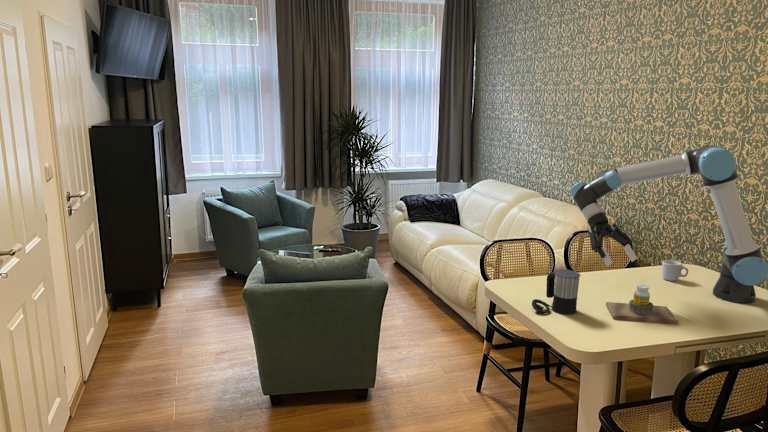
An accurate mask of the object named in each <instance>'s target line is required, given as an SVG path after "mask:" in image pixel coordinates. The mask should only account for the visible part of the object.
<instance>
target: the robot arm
mask: <svg viewBox="0 0 768 432" xmlns="http://www.w3.org/2000/svg"><path fill="white" fill-rule="evenodd" d="M736 167H737V161H736V157H735V156H734V154H733V153H732V152H731V151H730V150H728V149H727V148H724V147H721V146H718V145H714V144H711V145H705V146H702V147H699V148H695V149H691V150H686V151H684V152H683V153H682V154H680V155H675V156H670V157H666V158H660V159H655V160H650V161H646V162H641V163H636V164H632V165H628V166H622V167H617V168H613V169H603V170H600V171H599V172H598V173H597V174H596V177H595V179H593V180H592V181H591V182H589V183H587V182H586V181H579V182H577V183H575V184H574V185H572V186H571V188H570V189H569V193H570V194H571V197H572V198H573V200H574V202H575V204H576V206H577V207H578V209H579V211H580V212H581V213H582V215H583V217H584V219H585V220H586V221H587V222H586V223H587V224H588V226H589V227H590V228H588V229H587V233H588V236H589V242H590V249H591V250H592V251H593V252H594V253H598V255H599V256H600V258H601V259H602V260H603V262H604V263H605V265H606V267H609V266H611V265H612V264H613V263H614V262H613V261H612V259H611V257H610V255H609V253H608V252H607V250H606V248H605V247H603V243H604V238H609V239H613V240H614V241H615V242H617V243H619V244H620V245H621V246H622V248H623V250H624V252H625V253H626V254H627V255H626V256H627V257H628V258H629V260H630V262H632V263H633V262H634V261H636V260H637V259H638V256H637V255H636V253H635V252H634V249H633V248H632V246H631V243H633V240H632V239H631V238H630V237H629V236H628V235H626V234H625V233H624V232H623V231H622V230H621V229H620V228H619V227H618V226H617V224H616V223H613V224H612V225H611V224H610V223H609V218H608V216H607V215H606V213H605V212H604V209H603V208H602V206H601V204H600V203H599V200H600V199H601V198H603V197H605V196H606V195H608V194H609V193H612V192H614V191H617V190H618V189H619V188H620V187H621V186H625V185H631V184H637V183H641V182H646V181H648V182H649V181H652V180H657V179H662V178H663V179H664V178H668V177H673V176H678V175H684V174H686V175H689V176H691V175H699V174H700V176H701V180H702V184H703V187H704V188H707V189H709V190H710V195H711V197H712V200H713V203H714V208H715V210H716V211H715V212H716V213H717V214H716V215H717V217H718V220H719V223H720V226H721V230H722V233H723V236H724V238H725V243H724V246H723V248H722V249H723V253H722V257H721V258H722V259H721V265H720V274H719V277H718V279H717V280H716V282H715V285H714V286H713V288H712V295H713V296H715V297H716V298H718V299H721V300H723V301H728V302H731V303H732V302H733V303H737V304H738V303H739V304H750V303H754V302H755V301H756V298H757V297H756V296H757V295H756V289H755V286H756V285H759V284H761V283H763V282H764V281H765V280H766V279H767V278H768V263H767V262H766V261H765V259H764V256H763V254H762V251H761V247H760V245H759V244H758V243H756V242H754V240H753V237H752V233H751V230H750V226H749V224H748V221H747V218H746V214H745V211H744V208H743V204H742V201H741V198H740V194H739V191H738V189H737V185H736V182H737V181H738V179H739V176H738V172H737V169H736Z"/></svg>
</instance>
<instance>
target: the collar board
mask: <svg viewBox="0 0 768 432" xmlns="http://www.w3.org/2000/svg"><path fill="white" fill-rule="evenodd" d="M633 300H634V299H630V300H629V301H628V302H629V303H627V302H626V303H625V302H613V301H612V302H611V301H606V302H605V306H606V309H607V310H608V312H609V314H610V316H611V318H612V319H613V320H618V321H619V320H621V321H622V320H623V321H633V322H643V323H644V322H647V323H657V324H669V325H670V324H671V325H678V321H679V320H678V319H677V317H676V316H675V315H674V313H672V311H671V310H670V309H669V307H668V306H667V305H654V303H652V302H651V301H649V306H639V305H636V304H633Z"/></svg>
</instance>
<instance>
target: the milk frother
mask: <svg viewBox="0 0 768 432" xmlns="http://www.w3.org/2000/svg"><path fill="white" fill-rule="evenodd" d="M580 277H581V273H580V272H577V271H575V270H571V269H556V270H555V271H551V272H550V273H548V274H547V275H546V292H545V293H546V295H545V296H546V297H547V298H548V299H552V298H553V299H552V303H551V305H550V304H548V303H547V302H545V301H543V300H541V299H536V298H535V299H532V301H531V306H532V309H533V310H535V311H536V312H537V313H540V314H548V313H550V312H551V311H550V310H552V311H553V312H555V313H558V314H561V315H574V314H577V304H578V302H577V301H578V293H579V284H580ZM550 307H551V308H550ZM544 308H545V309H544Z"/></svg>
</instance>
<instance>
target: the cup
mask: <svg viewBox="0 0 768 432" xmlns="http://www.w3.org/2000/svg"><path fill="white" fill-rule="evenodd" d="M682 270H685V274H682ZM688 275H689V268H687V267H686V266H684V265H683V263H682V262H680V261H679V260H678V261H677V260H672V259H665V260H662V263H661V277H662V279H663V280H664V281H669V282H676V281H679V279H680V278H685V277H687V276H688Z"/></svg>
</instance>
